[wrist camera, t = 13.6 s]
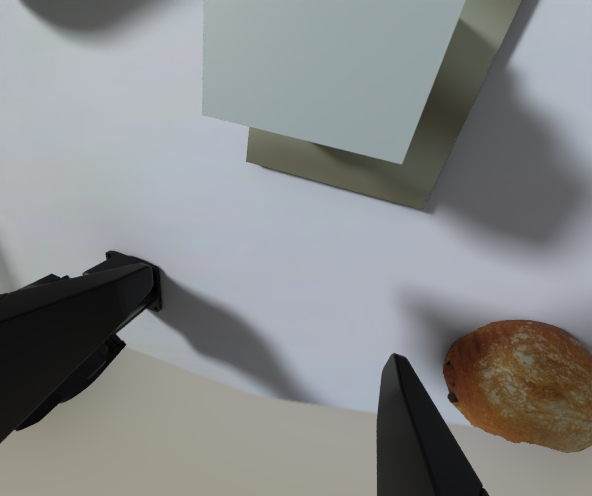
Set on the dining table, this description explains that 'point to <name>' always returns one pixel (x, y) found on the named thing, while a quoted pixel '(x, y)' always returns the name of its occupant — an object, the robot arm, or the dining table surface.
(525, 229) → the dining table surface
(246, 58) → the gray brick
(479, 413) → the bread roll
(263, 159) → the build board
